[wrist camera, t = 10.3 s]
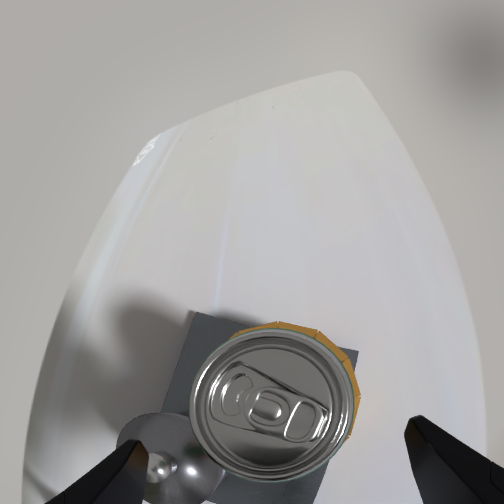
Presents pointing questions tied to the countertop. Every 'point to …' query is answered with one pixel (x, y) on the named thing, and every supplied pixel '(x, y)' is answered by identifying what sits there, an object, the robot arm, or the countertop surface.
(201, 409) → the soda can
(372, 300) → the countertop surface
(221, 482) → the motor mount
